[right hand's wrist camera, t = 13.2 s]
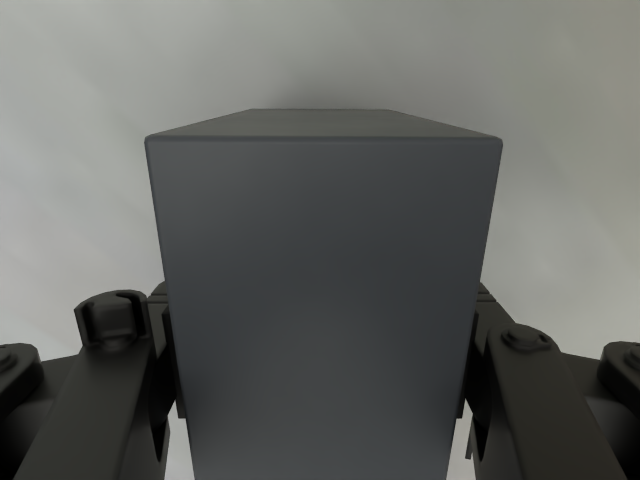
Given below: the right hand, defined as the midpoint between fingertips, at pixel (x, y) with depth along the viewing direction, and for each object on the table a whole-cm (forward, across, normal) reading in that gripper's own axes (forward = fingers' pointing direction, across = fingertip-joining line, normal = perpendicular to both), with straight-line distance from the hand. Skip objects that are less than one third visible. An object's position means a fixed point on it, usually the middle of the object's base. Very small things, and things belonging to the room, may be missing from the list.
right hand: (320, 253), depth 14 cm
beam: (+1, 0, -21) cm, 21 cm away
